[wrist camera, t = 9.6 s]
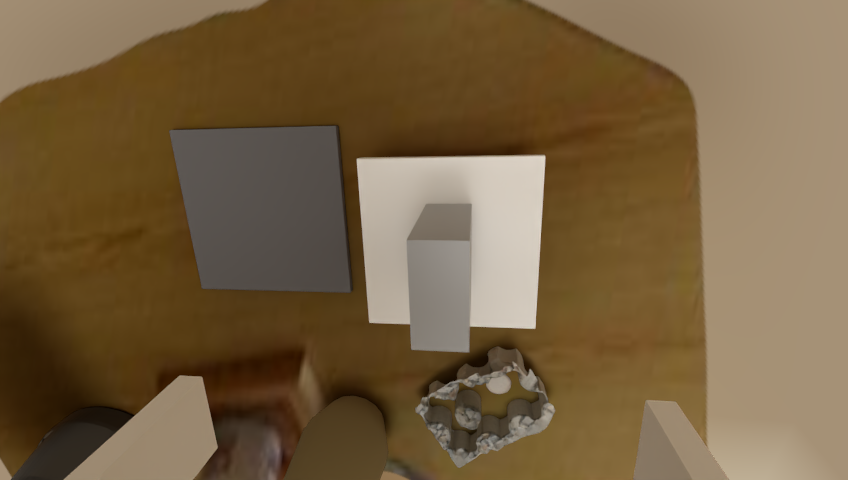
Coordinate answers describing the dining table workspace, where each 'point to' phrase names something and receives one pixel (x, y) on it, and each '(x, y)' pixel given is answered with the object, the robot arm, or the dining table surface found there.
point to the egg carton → (468, 408)
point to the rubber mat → (266, 207)
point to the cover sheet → (491, 230)
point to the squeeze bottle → (342, 443)
